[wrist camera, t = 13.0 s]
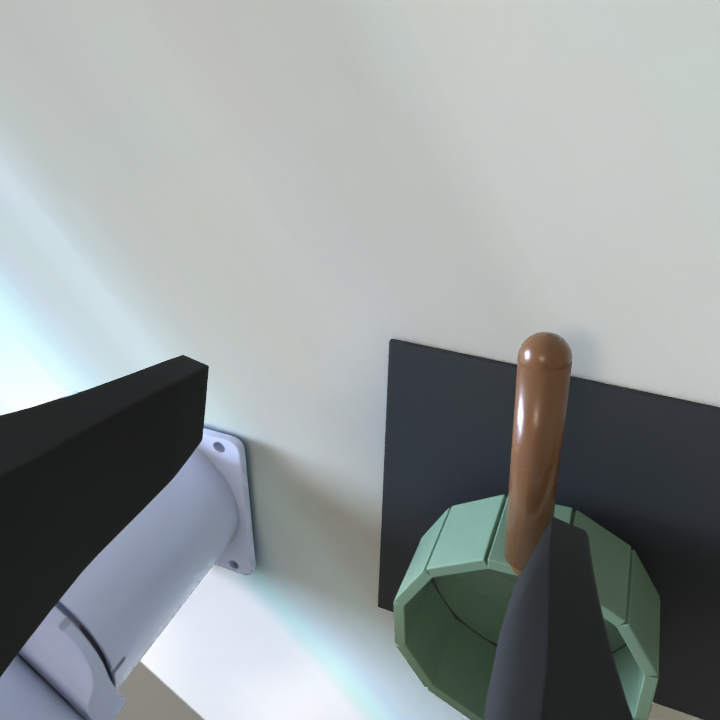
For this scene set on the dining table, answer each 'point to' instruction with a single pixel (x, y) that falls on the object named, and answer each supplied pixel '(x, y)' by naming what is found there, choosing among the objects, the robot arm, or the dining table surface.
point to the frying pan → (519, 559)
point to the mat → (568, 488)
